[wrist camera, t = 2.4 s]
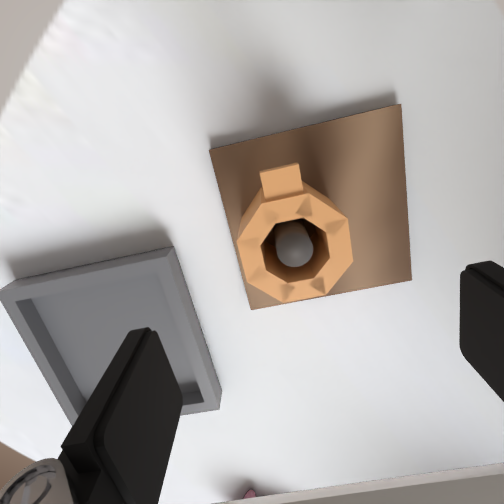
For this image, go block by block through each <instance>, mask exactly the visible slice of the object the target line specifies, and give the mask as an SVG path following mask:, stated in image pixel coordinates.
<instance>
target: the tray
mask: <svg viewBox="0 0 504 504" xmlns="http://www.w3.org/2000/svg"><path fill="white" fill-rule="evenodd" d="M0 301H1V302H2V304H3V306H4V308H5V309H6V311H7V313H8V315H9V316H10V318H11V320H12V322H13V323H14V325H15V327H16V329H17V330H18V332H19V334H20V336H21V337H22V339H23V341H24V343H25V344H26V346H27V348H28V350H29V351H30V353H31V355H32V357H33V358H34V360H35V362H36V364H37V365H38V367H39V369H40V371H41V372H42V374H43V376H44V378H45V380H46V381H47V383H48V385H49V387H50V388H51V390H52V392H53V394H54V395H55V397H56V399H57V401H58V402H59V404H60V406H61V408H62V409H63V411H64V413H65V415H66V416H67V418H68V420H69V422H70V423H71V425H72V426H73V425H74V423H75V421H76V420H77V418H78V416H79V415H80V413H81V411H82V410H83V408H84V406H85V405H86V403H87V401H88V400H89V398H90V396H91V394H92V393H93V391H94V389H95V388H96V386H97V384H98V383H99V381H100V379H101V378H102V376H103V374H104V373H105V371H106V369H107V368H108V366H109V364H110V363H111V361H112V359H113V357H114V356H115V354H116V352H117V351H118V349H119V347H120V346H121V344H122V342H123V341H124V339H125V337H126V336H127V334H128V332H129V331H131V330H135V329H140V328H145V327H149V328H150V329H151V330H152V331H154V330H155V331H156V332H157V333H158V335H159V338H160V340H161V343H162V345H163V348H164V350H165V353H166V355H167V358H168V360H169V363H170V365H171V368H172V370H173V373H174V375H175V377H176V380H177V382H178V385H179V387H180V390H181V392H182V396H183V406H182V410H181V414H180V416H181V415H187V414H194V413H200V412H207V411H213V410H219V409H220V402H221V395H222V390H221V387H220V384H219V381H218V378H217V375H216V372H215V369H214V366H213V363H212V360H211V357H210V354H209V351H208V348H207V345H206V342H205V339H204V336H203V333H202V330H201V327H200V324H199V321H198V318H197V315H196V312H195V309H194V306H193V303H192V300H191V297H190V294H189V291H188V288H187V285H186V282H185V279H184V276H183V273H182V270H181V267H180V264H179V261H178V258H177V255H176V252H175V249H174V246H173V247H168V248H164V249H159V250H154V251H150V252H145V253H140V254H135V255H131V256H126V257H121V258H117V259H112V260H107V261H102V262H98V263H93V264H88V265H84V266H79V267H74V268H69V269H65V270H60V271H55V272H50V273H46V274H41V275H36V276H32V277H27V278H22V279H17V280H14V281H13V282H11V283H10V284H8V285H6V286H5V287H3V288H2V289H0Z"/></svg>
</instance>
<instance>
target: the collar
mask: <svg viewBox="0 0 504 504" xmlns="http://www.w3.org/2000/svg"><path fill="white" fill-rule="evenodd" d="M260 177H261V182H262V187H261V188H260V189H259V191H258V193H257V194H256V196H255V197H254V199H253V200H252V202H251V204H250V205H249V207H248V208H247V210H246V211H245V213H244V215H243V216H242V218H241V222H240V227H239V232H238V237H237V246H238V249H239V253H240V257H241V261H242V265H243V269H244V272H245V276H246V280H247V282H248V283H249V284H251V285H253V286H255V287H256V288H258V289H260V290H262V291H263V292H265V293H267V294H269V295H270V296H272V297H274V298H276V299H277V300H279V301H281V302H282V303H286V302H291V301H297V300H302V299H307V298H313V297H318V296H323V295H326V294H327V293H328V292H329V291H330V289H331V288H332V287H333V286H334V285H335V283H336V282H337V281H338V280H339V278H340V277H341V276H342V275H343V273H344V272H345V271H346V270H347V269H348V267H349V266H350V265H351V264H352V262H353V255H352V248H351V240H350V232H349V224H348V218H347V217H346V216H345V215H344V214H343V213H342V212H341V211H340V210H339V209H338V208H337V206H336V205H335V204H334V203H333V202H332V201H331V200H330V199H329V198H327V197H326V196H324V195H323V194H321V193H320V192H318V191H317V190H315V189H314V188H312V187H311V186H309V185H308V184H306V183H305V182H303V181H302V180H301V175H300V169H299V164H298V163H293V164H289V165H284V166H280V167H276V168H271V169H267V170H263V171H260ZM299 218H305V219H306V220H308V221H310V222H311V223H313V224H314V225H315V228H316V231H315V232H314V233H313V235H312V236H311V237H310V240H311V242H312V245H313V254H312V256H311V258H310V260H309V261H308V262H307V263H305V264H304V265H302V266H299V267H290V266H287V265H285V264H283V263H282V262H281V261H280V259H279V258H278V255H277V249H276V247H274V246H272V245H271V244H269V243H268V242H266V241H265V240H264V239H265V238H266V236H267V235H268V234H269V232H270V231H271V229H272V228H273V226H274V225H275V223H280V222H285V221H289V220H294V219H299Z"/></svg>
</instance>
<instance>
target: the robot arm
mask: <svg viewBox="0 0 504 504" xmlns="http://www.w3.org/2000/svg"><path fill="white" fill-rule="evenodd" d="M460 349H461V352H462V354H463V356H464V357H465V359H466V360H467V361H468V362H469V363H470V364H471V365H472V367H473V368H474V369H475V370H476V371H477V372H478V373H479V374H480V376H481V377H482V378H483V379H484V380H485V381H486V382H487V384H488V385H489V386H490V387H491V388H492V389H493V390H494V391H495V393H496V394H497V395H498V396H499V397H500V398H501V399H502V400H503V402H504V268H503V267H501V266H500V265H498V264H496V263H495V262H493V261H485V262H480V263H475V264H469V265H468V266H467V267H466V269H465V271H462V272H461V274H460ZM182 406H183V396H182V392H181V390H180V387H179V385H178V382H177V380H176V377H175V375H174V373H173V370H172V368H171V365H170V363H169V360H168V358H167V355H166V353H165V350H164V348H163V345H162V343H161V340H160V338H159V335H158V333H157V332H156V331H155V330H154V331H152V330H151V329H150V328H149V327H145V328H140V329H135V330H131V331H129V332H128V334H127V336H126V337H125V339H124V341H123V342H122V344H121V346H120V347H119V349H118V351H117V352H116V354H115V356H114V357H113V359H112V361H111V363H110V364H109V366H108V368H107V369H106V371H105V373H104V374H103V376H102V378H101V379H100V381H99V383H98V384H97V386H96V388H95V389H94V391H93V393H92V394H91V396H90V398H89V400H88V401H87V403H86V405H85V406H84V408H83V410H82V411H81V413H80V415H79V416H78V418H77V420H76V421H75V423H74V425H73V426H72V428H71V430H70V431H69V433H68V435H67V437H66V438H65V440H64V442H63V443H62V445H61V448H62V449H63V450H62V452H61V454H60V456H59V457H58V459H55V458H48V459H43V460H40V461H37V462H35V463H33V464H31V465H29V466H28V467H26V468H24V469H23V470H22V471H20V472H19V473H18V474H16V475H15V476H14V477H13V478H12V479H11V480H10V481H9V482H8V483H7V484H6V485H5V486H4V487H3V488H2V490H1V491H0V504H158V501H159V497H160V493H161V489H162V485H163V481H164V477H165V473H166V469H167V465H168V461H169V457H170V453H171V449H172V446H173V442H174V438H175V434H176V430H177V426H178V422H179V418H180V414H181V410H182ZM213 504H504V463H498V464H491V465H483V466H476V467H468V468H461V469H453V470H446V471H439V472H431V473H424V474H417V475H409V476H402V477H395V478H388V479H381V480H373V481H366V482H359V483H352V484H345V485H338V486H331V487H324V488H317V489H310V490H302V491H295V492H288V493H281V494H275V495H268V496H261V497H254V498H247V499H240V500H234V501H227V502H220V503H213Z"/></svg>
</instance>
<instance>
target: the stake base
mask: <svg viewBox="0 0 504 504" xmlns="http://www.w3.org/2000/svg"><path fill="white" fill-rule="evenodd" d="M209 153H210V156H211V160H212V164H213V168H214V172H215V175H216V179H217V183H218V187H219V191H220V194H221V198H222V202H223V206H224V210H225V213H226V217H227V221H228V225H229V228H230V232H231V236H232V240H233V244H234V247H235V251H236V255H237V259H238V263H239V266H240V270H241V274H242V278H243V282H244V285H245V289H246V293H247V297H248V301H249V304H250V308H251V310H254V309H260V308H265V307H271V306H276V305H281V304H287V303H292V302H297V301H303V300H308V299H314V298H319V297H324V296H330V295H335V294H341V293H346V292H351V291H357V290H362V289H367V288H373V287H378V286H384V285H389V284H394V283H400V282H405V281H410V280H412V274H411V257H410V241H409V224H408V208H407V191H406V175H405V158H404V142H403V125H402V109H401V104H397V105H392V106H388V107H384V108H380V109H376V110H372V111H368V112H363V113H359V114H355V115H351V116H347V117H343V118H338V119H334V120H330V121H326V122H322V123H318V124H314V125H309V126H305V127H301V128H297V129H293V130H289V131H285V132H280V133H276V134H272V135H268V136H264V137H260V138H256V139H251V140H247V141H243V142H239V143H235V144H231V145H226V146H222V147H218V148H214V149H210V150H209ZM293 163H298V164H299V169H300V175H301V180H302V181H303V182H305V183H306V184H308V185H309V186H311V187H312V188H314V189H315V190H317V191H318V192H320V193H321V194H323V195H324V196H326V197H327V198H329V199H330V200H331V201H332V202H333V203H334V204H335V205H336V206H337V208H338V209H339V210H340V211H341V212H342V213H343V214H344V215H345V216H346V217H347V218H348V224H349V232H350V240H351V248H352V255H353V262H352V264H351V265H350V266H349V267H348V269H347V270H346V271H345V272H344V273H343V275H342V276H341V277H340V278H339V280H338V281H337V282H336V283H335V285H334V286H333V287H332V288H331V289H330V291H329V292H328V293H327V294H326V295H323V296H318V297H313V298H307V299H302V300H297V301H291V302H286V303H282V302H281V301H279V300H277V299H276V298H274V297H272V296H270V295H269V294H267V293H265V292H263V291H262V290H260V289H258V288H256V287H255V286H253V285H251V284H249V283H248V282H247V280H246V276H245V272H244V269H243V265H242V261H241V257H240V253H239V249H238V246H237V237H238V232H239V227H240V222H241V218H242V216H243V215H244V213H245V211H246V210H247V208H248V207H249V205H250V204H251V202H252V200H253V199H254V197H255V196H256V194H257V193H258V191H259V189H260V188H261V187H262V182H261V177H260V171H263V170H267V169H271V168H276V167H280V166H284V165H289V164H293ZM315 231H316V228H315V225H314V224H313V223H311V222H310V221H308V220H306V219H305V218H299V219H294V220H289V221H285V222H280V223H275V225H274V226H273V228H272V229H271V231H270V232H269V234H268V235H267V236H266V238H265V239H264V240H265V241H266V242H268V243H269V244H271V245H272V246H274V247H276V249H277V255H278V258H279V259H280V261H281V262H282V263H283V264H285V265H287V266H290V267H299V266H302V265H304V264H305V263H307V262H308V261H309V260H310V258H311V256H312V254H313V245H312V242H311V240H310V237H311V236H312V235H313V233H314V232H315Z"/></svg>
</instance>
